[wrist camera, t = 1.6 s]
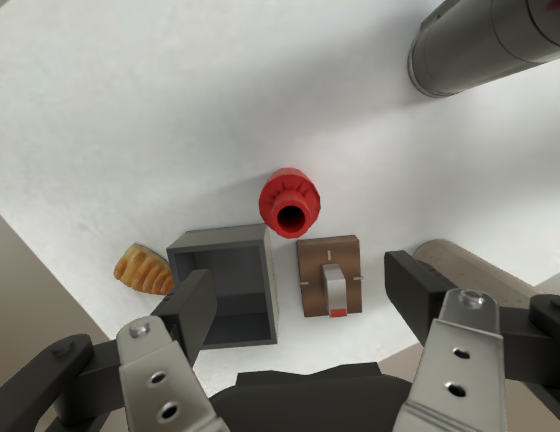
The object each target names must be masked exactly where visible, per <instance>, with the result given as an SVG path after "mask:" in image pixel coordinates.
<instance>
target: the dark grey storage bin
mask: <svg viewBox="0 0 560 432" xmlns="http://www.w3.org/2000/svg"><path fill="white" fill-rule="evenodd" d="M166 251H167V254H168V259H169V264H170V268H171V272H172V277H173V281H174V285H175V286H176V285H178V284H179V283H181V282H184V281H185V280H186V278H187V277H188V276H189V274H190V273H191V272H192V271H193V270H201V269H210V270H211V272H212V277H213V282H214V288H215V293H216V298H217V311H216V314H215V316H214V319H213V321H212V323H211V326H210V328H209V330H208V333H207V335H206V337H205V340H204V342H203V344H202V347H201V349H200V350H208V349H220V348H233V347H245V346H258V345H270V344H277V341H278V314H279V311H278V303H277V295H276V287H275V279H274V272H273V264H272V256H271V248H270V240H269V232H268V225H266V223H264V224H254V225H244V226H234V227H224V228H214V229H205V230H195V231H187V232H186V233H185V234H183V235H182V236H181V237H180V238H179V239H177V240H176V241H175V242H174V243H172V244H171V245H170V246H169V247H168V248H166Z"/></svg>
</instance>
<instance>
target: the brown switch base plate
mask: <svg viewBox="0 0 560 432" xmlns="http://www.w3.org/2000/svg"><path fill="white" fill-rule="evenodd" d="M297 248H298V258H299V268H300V279H301V282H299V285H301V289H302V299H303V309H304V317H314V316H326V315H329V313H328V310H327V306H326V302H325V298H324V288H323V275H322V265H327V264H338V265H339V267H340V269H341V272H342V274H343V276H344V278H345V284H346V302H347V314H350V313H362V301H361V279H363V277H361V275H360V249H359V240H358V238H357V237H356V236H355V235H350V236H340V237H330V238H319V239H309V240H299V241H297Z"/></svg>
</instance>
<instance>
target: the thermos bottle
mask: <svg viewBox="0 0 560 432" xmlns="http://www.w3.org/2000/svg"><path fill="white" fill-rule="evenodd" d="M413 258H414V259H415V260H420V261H423V262H425V263H428V264H430V265H431V266H432V267H433V268H435V269H436V271H439V272H440V273H441V274H442V275H443V276H445V277H446V278H448V279H449V280H450V281H451V282H453V283H454V284H455V285H457V286H458V287H459V288H469V289H474V290H478V291H482V292H485V293H487V294H489V295H491V296H493V297H494V298H495V299H496V300H497V301H498V302H499V305H500V306H503V307H513V308H525V309H529V302H530V298H531V297H532V296H534V295H538V294H546V293H544V292H542V291H540V290H538V289H536V288H535V287H533V286H531V285H529V284H527V283H525V282H524V281H522V280H520V279H518V278H516V277H515V276H513V275H511V274H509V273H507V272H505V271H503V270H501V269H499V268H497V267H495V266H494V265H492V264H490V263H488V262H487V261H485V260H483V259H482V258H480V257H478V256H476V255H474V254H473V253H471V252H469V251H467V250H465V249H463V248H462V247H460V246H458V245H456V244H454V243H452V242H450V241H447V240H432V241H429V242H427V243H425V244H423V245H422V246H421V247H420V248H419V249H418V250H417V251H416V252H415V254H414V255H413ZM520 382H521V383H522V384H523V385H524V386H525V387H526V388H527V389H529V388H528V387H527V386H526V385H525V384H524V382H523V381H520ZM529 391H530V392H532V391H531V390H530V389H529ZM532 393H533V392H532ZM533 394H534V393H533ZM534 395H535V394H534ZM535 396H536V395H535ZM536 397H537V396H536ZM537 398H538V397H537ZM538 399H539V398H538ZM539 400H540V399H539ZM540 401H541V400H540Z"/></svg>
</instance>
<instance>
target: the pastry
mask: <svg viewBox="0 0 560 432" xmlns="http://www.w3.org/2000/svg"><path fill="white" fill-rule="evenodd" d="M114 277H115V278H116V279H117V280H120V281H121V282H123V283H124V284H125V285H127V286H129V287H132V288H133V289H134V290H137V291H141V292H144V293H150V294H157V295H167V294H168V293H169V292H170V290H171V289H172V288H173V287H175V285H174V281H173V277H172V272H171V268H170V267H169V266H168V264H167V263H166V261H165V260H164V259H163V258H161V257H160V256H158V255H157V254H155V253H154V252H152V251H150V250H149V249H147V248H146V247H144V246H140V245H137V244H134V245H132V246H131V247H130V248H129V249H128V250H127V251H126V253H125V254H124V256H123V257H122V258H121V259H120V261H119V262H118V264H117V265H116V267H115V269H114Z"/></svg>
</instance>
